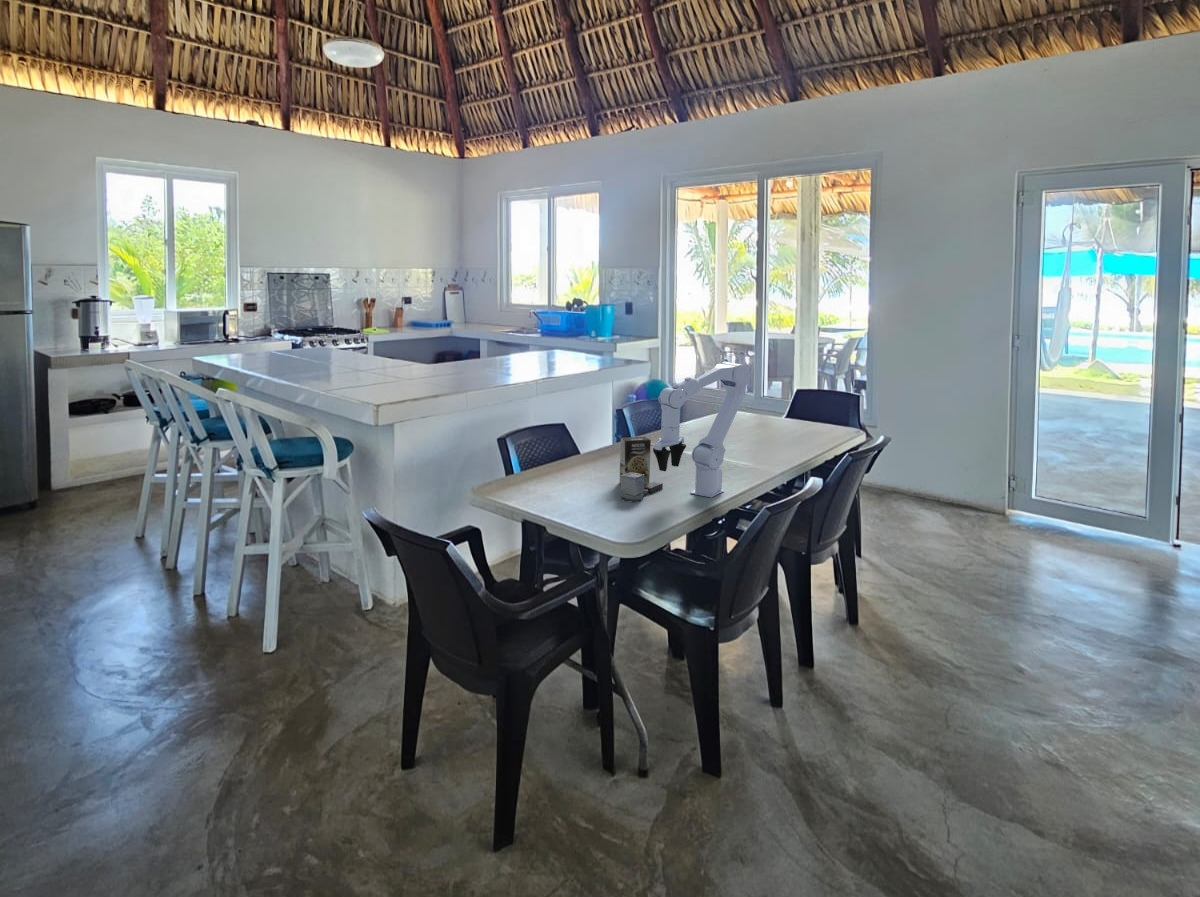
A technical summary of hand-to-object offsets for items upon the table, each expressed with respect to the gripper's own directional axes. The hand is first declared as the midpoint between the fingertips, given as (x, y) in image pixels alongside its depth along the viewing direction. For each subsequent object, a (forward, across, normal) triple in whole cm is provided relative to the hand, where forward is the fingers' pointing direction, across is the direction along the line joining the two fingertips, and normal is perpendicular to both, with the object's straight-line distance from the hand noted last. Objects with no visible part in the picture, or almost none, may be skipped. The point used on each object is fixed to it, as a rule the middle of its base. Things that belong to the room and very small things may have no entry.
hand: (669, 468), depth 248 cm
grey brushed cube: (+8, +6, -10) cm, 14 cm away
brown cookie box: (+11, -9, -19) cm, 24 cm away
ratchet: (+10, 0, -10) cm, 14 cm away
